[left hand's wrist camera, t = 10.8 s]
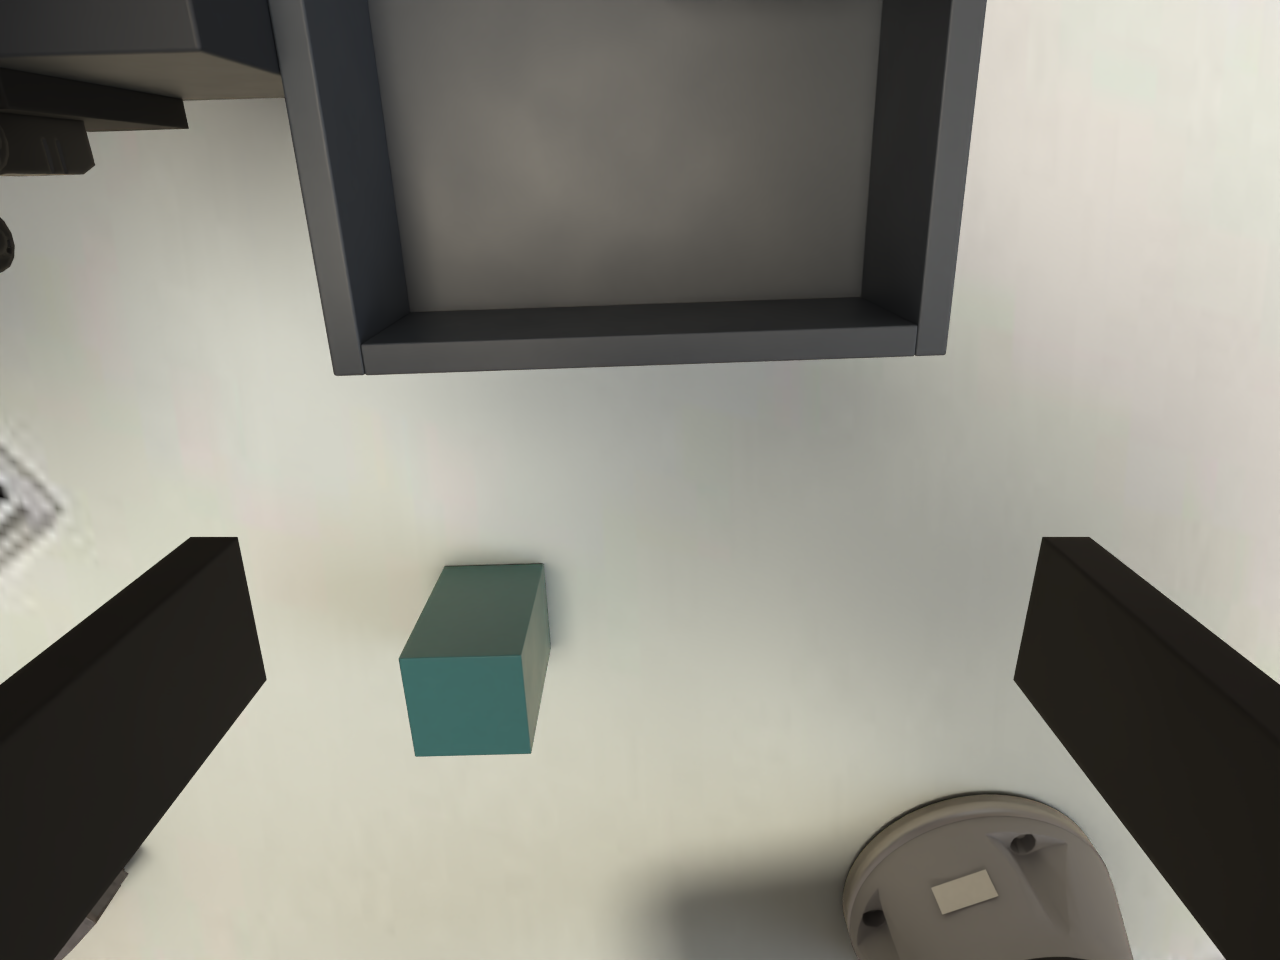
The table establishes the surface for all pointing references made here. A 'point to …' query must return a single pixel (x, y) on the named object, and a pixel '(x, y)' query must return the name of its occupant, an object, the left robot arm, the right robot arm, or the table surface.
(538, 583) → the teal block
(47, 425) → the table surface
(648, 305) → the tray
